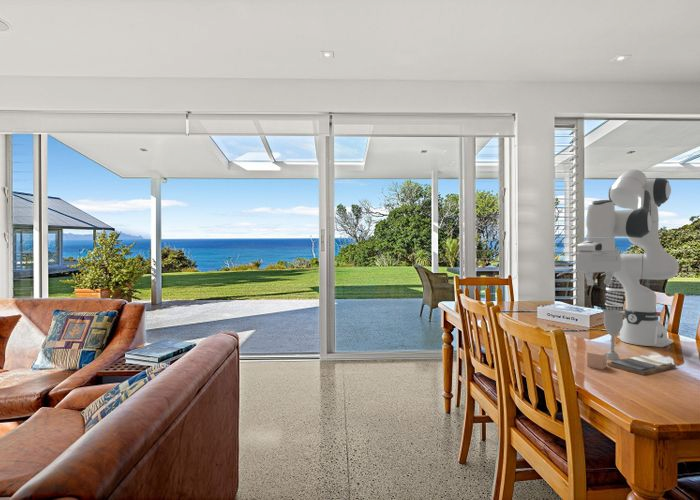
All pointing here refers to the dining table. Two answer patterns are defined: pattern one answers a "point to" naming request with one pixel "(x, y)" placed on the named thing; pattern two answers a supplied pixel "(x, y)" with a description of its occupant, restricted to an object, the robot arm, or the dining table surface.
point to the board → (642, 365)
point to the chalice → (613, 329)
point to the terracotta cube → (597, 359)
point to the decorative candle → (614, 296)
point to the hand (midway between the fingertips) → (599, 284)
